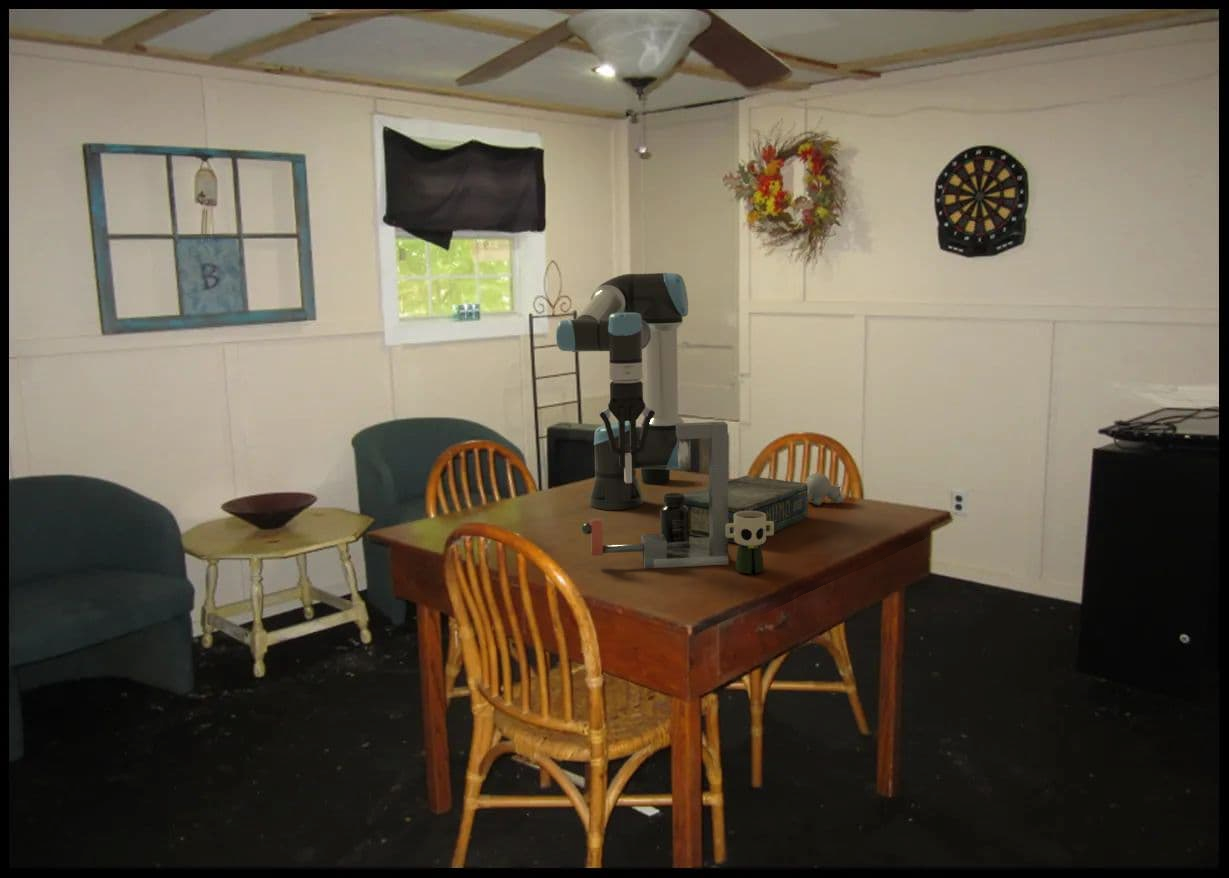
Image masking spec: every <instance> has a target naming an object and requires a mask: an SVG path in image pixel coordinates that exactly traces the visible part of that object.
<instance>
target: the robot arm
mask: <svg viewBox="0 0 1229 878" xmlns="http://www.w3.org/2000/svg"><path fill="white" fill-rule="evenodd" d="M688 314H689V299H688V292H687V287H686V284H685V280H684V278H683V276H681V274H679V273H671V272H662V273H661V272H658V273H657V272H656V273H655V272H653V273H626V274H625V273H624V274H620V275H618V276H615V277H613V278H610V279H608V280H606V281H605V282H603V283H601V284H600V285H599V286H598V287H597V288H596V289H594V290H593V292H592V294H591V297H590V301H589V302H588V304H586V305H585V307H584V308H583V309H582V311H581V312H580V313H579V314H578V315H577V316H576V317H575V319H571V318H569V319H565V320H563V319H562V320H560V321H559V322H558V323H557V326H556V332H555V333H556V334H555V335H556V336H555V337H556V345H557V347H558V349H559V350H560V351H563V352H571V353H575V352H578V353H579V352H609V356H608V357H609V380H610V381H611V382H610V383H609V397H610V398H609V399H610V400H609V403H608V405H607V408H605V409H604V410H601V411H599V412H598V414H599V416H600V418H601V419H602V421H603V425H600V426H598V427H596V429H595V431H594V440H593V441H594V442H593V446H594V447H593V450H594V480H593V481H594V482H593V484H592V488H591V492H590V495H589V505H590V506H591V507H592V508H595V509H599V510H606V511H607V510H611V511H614V510H615V511H616V510H617V511H619V510H620V511H622V510H630V509H635V508H639V507H640V506H642V505H643V503H644V502H643V496H644V495H643V493H642V490H641V488H640V485H639V482H638V478H637V470H638V469H640V470H641V469H666V470H668V469H670V470H679V469H678V438H677V437H676V423H685V421H684V420H683V419H682V418H681V417H680V416H679V399H678V398H679V393H678V392H679V389H678V388H679V385H678V377H679V376H678V328H679V327H680V326H681V325H682V324H683V318H684V317H687V316H688ZM643 349H645V358H646V361H645V362H646V363H645V364H646V403H645V402H644V385H643V384H644V383H643V382H642V381H641V380H642V379H643V378H644V377H643ZM642 413H643V414H642ZM611 414H612V416H614V417H615V419H616V420H617V422H611V421H610V419H611ZM641 415H642V416H644V417H643V420H642V422H641V427H639V426H637V420H638V419H639V418H640V416H641Z"/></svg>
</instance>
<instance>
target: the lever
mask: <svg viewBox="0 0 1229 878" xmlns="http://www.w3.org/2000/svg"><path fill="white" fill-rule="evenodd" d="M581 532H582V533H583V534H585V535H590V547H591V549H590V552H591V556H593V557H594V556H596V557H597V556H603V555H604V554H618V553H619V554H620V553H622V554H624V553H642V552H644V544H642V543H626V544H607V545H604V544H603V520H602V517H596V518H590V522H585V523H583V524H582V526H581ZM689 548H690V545H689V541H687V542H667V550H686V549H689Z"/></svg>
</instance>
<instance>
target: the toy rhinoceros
mask: <svg viewBox="0 0 1229 878" xmlns="http://www.w3.org/2000/svg"><path fill="white" fill-rule="evenodd" d="M804 483H806V484H807V486H808V491H807V494H808V498H807V502H811V503H812V504H813V505H816V506H819V507H820V506H821V505H822V502H823V499H825V497H827V498H828V499H829V500H831V501H832V502H833V503H835V504H840V503H842V502H843V499H844V498H845V497H846V493H844V494H842V491H841V486H839V483H836V484H831V481H830V479H829V478H828V476H826V475H825V474H823V473H819V472H816V473H812V474H811V475H808V476H807V477H806V479H805V482H804Z"/></svg>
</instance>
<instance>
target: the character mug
mask: <svg viewBox="0 0 1229 878" xmlns="http://www.w3.org/2000/svg"><path fill="white" fill-rule="evenodd" d="M766 525H770V531H767V532H766ZM730 527H734V533H732V534H730ZM774 533H775V532H774V522H773V521H766V514H765V513H763V512H759V511H739V512H736V513H734V523H728V524H726V526H725V536H726V538H734V541H735V542H736V543H737V544H736V543H735V544H736V545H738V546H737V552H736V560H735V570H736V571H738V572H739V573H743V574H752V571H755V573H756V574H758V573H761V572H763V571H764V570H765V567H764V566H765V565H764V558H763V550H762V546H761V545H763V544H764V543H766V540H767V536H768V537H769V536H771V537H772V536H774Z"/></svg>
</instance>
